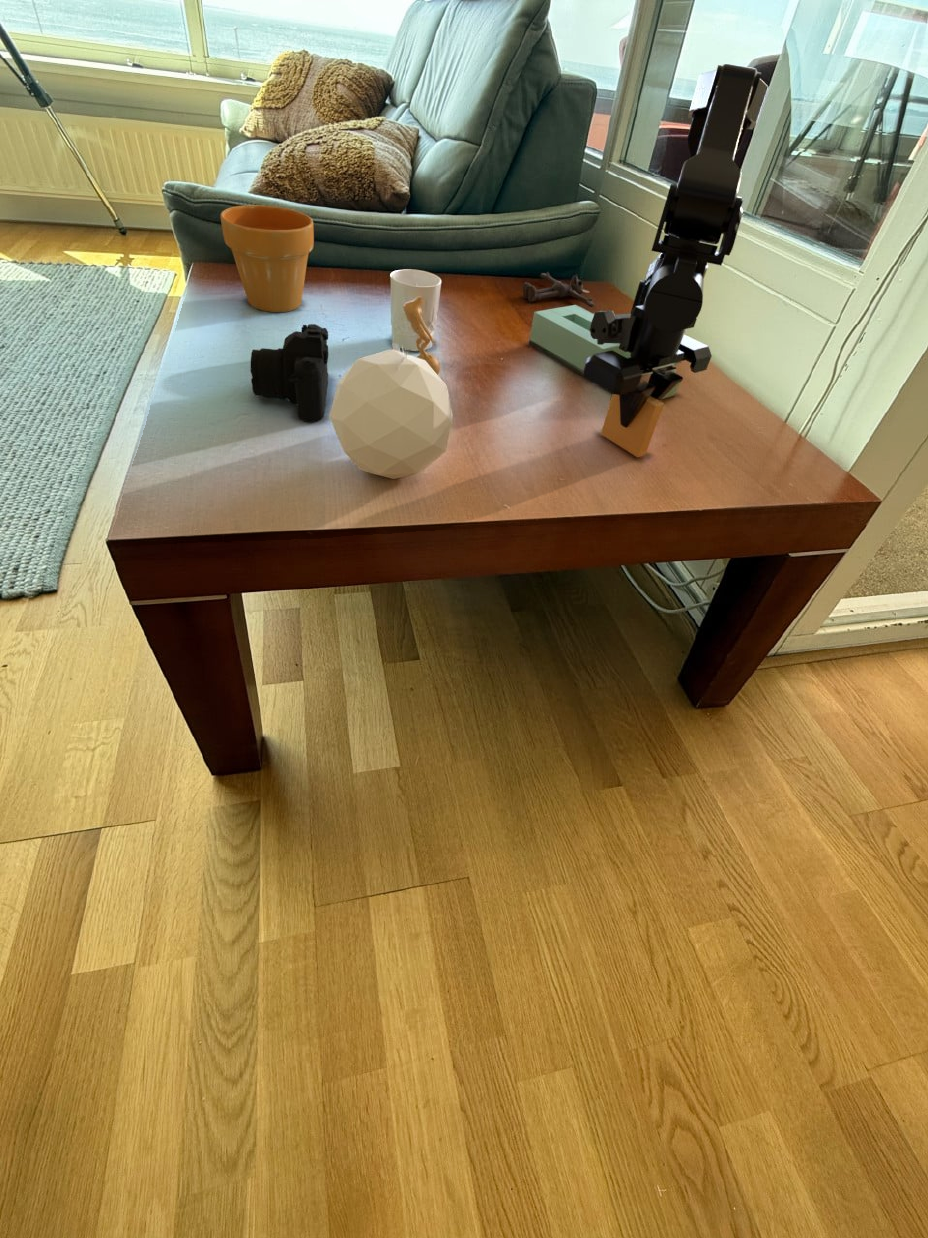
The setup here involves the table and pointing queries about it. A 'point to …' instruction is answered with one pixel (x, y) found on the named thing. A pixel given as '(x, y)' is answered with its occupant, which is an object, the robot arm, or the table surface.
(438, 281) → the white cup
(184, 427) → the table surface
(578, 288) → the brown humanoid figure
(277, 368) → the film camera
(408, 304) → the figurine
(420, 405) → the geodesic sphere
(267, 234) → the flower pot
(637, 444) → the toast
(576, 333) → the toaster
